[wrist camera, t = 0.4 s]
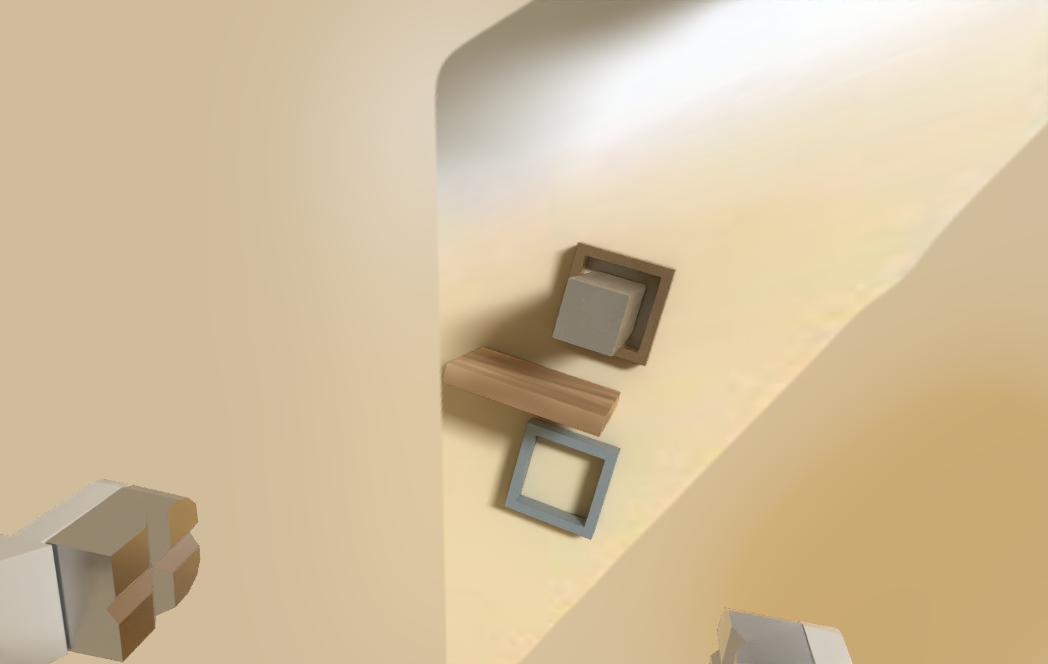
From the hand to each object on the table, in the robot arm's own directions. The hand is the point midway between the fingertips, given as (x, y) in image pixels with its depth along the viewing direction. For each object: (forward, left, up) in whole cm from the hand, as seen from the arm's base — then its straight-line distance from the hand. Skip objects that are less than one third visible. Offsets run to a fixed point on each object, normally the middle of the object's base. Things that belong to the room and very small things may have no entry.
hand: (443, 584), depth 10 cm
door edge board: (+8, -7, -44) cm, 46 cm away
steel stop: (+1, -4, -44) cm, 44 cm away
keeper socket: (+16, -4, -44) cm, 47 cm away
